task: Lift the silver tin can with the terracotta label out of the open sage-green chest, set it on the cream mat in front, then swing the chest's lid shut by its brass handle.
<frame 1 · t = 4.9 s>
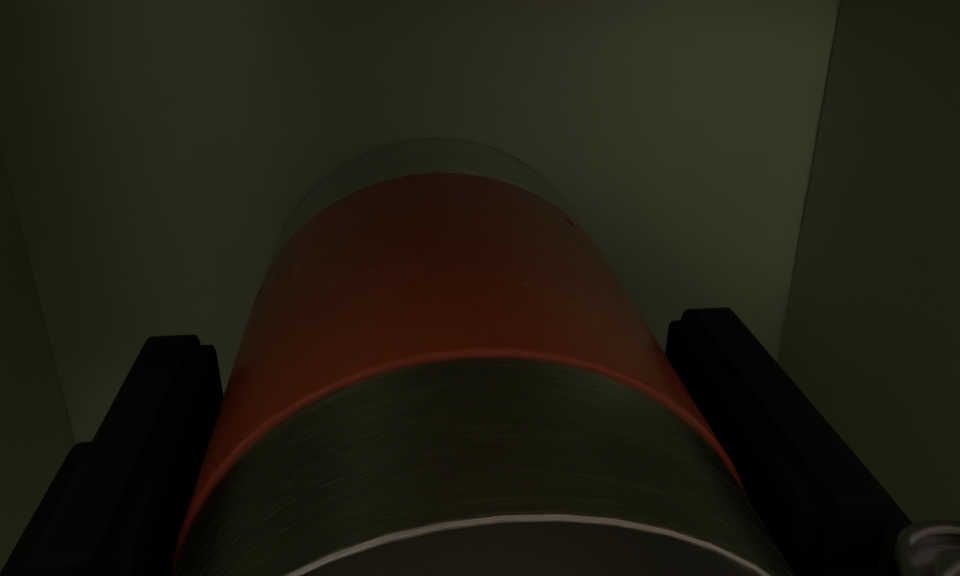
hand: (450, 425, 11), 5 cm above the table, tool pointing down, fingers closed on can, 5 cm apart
can: (433, 295, 14), point 1 cm above the table, touching chest, gripper
chest: (432, 324, 15), on the table
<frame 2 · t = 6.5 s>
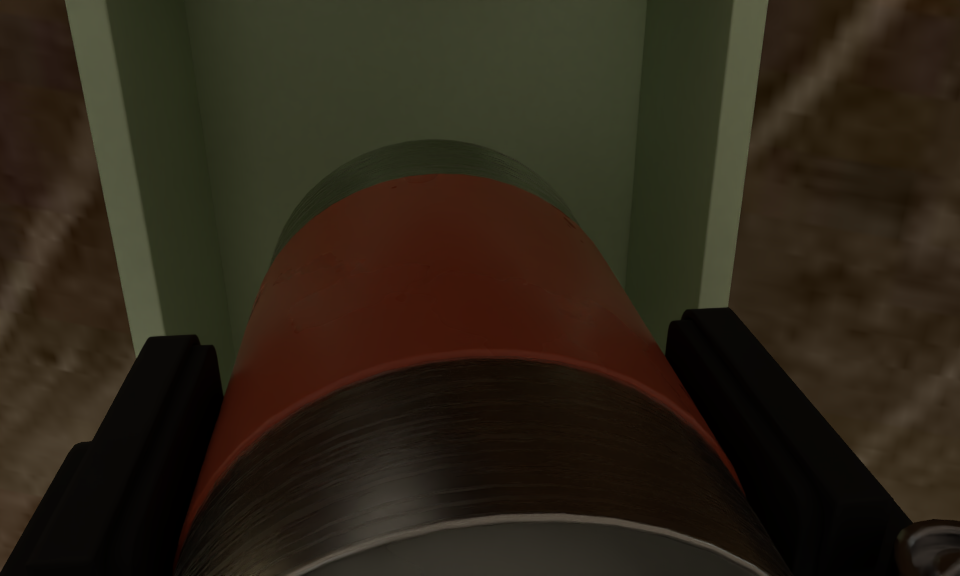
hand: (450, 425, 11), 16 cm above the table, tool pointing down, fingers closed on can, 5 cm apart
can: (433, 295, 14), point 12 cm above the table, touching gripper
chest: (426, 179, 26), on the table
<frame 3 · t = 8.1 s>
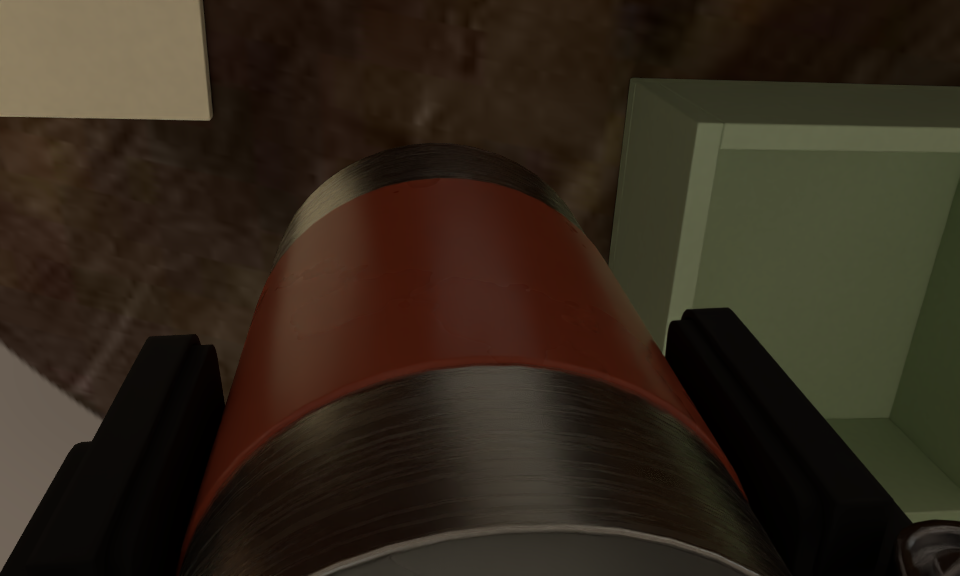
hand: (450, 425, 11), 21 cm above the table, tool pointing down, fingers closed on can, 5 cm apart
can: (435, 299, 14), point 17 cm above the table, touching gripper
chest: (775, 269, 35), on the table
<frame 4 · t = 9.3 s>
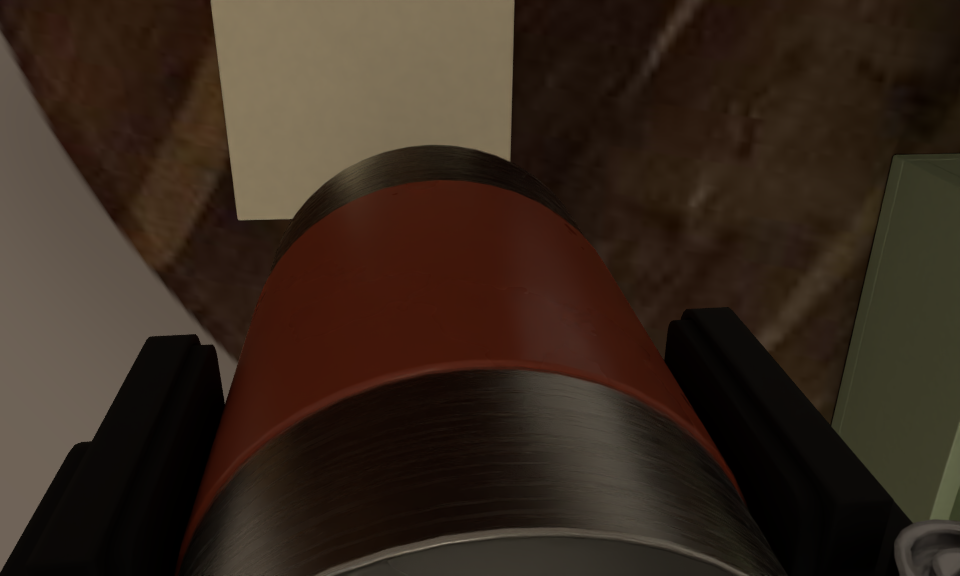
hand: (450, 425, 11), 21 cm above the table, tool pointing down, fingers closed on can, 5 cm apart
can: (434, 300, 14), point 17 cm above the table, touching gripper
mat: (369, 77, 29), on the table
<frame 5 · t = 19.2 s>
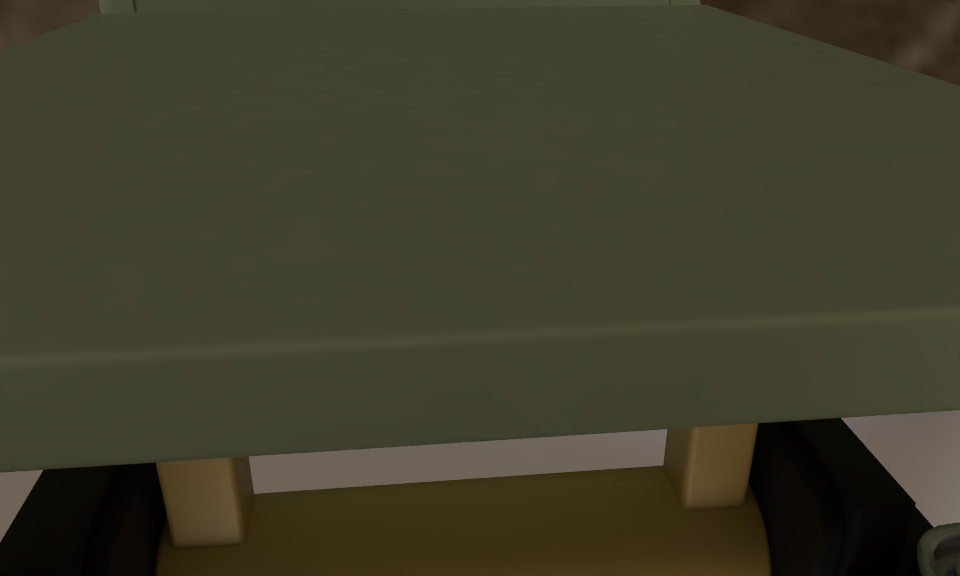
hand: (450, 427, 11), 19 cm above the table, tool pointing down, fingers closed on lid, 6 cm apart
lid: (432, 230, 13), point 16 cm above the table, hinge at 90.0°, touching gripper
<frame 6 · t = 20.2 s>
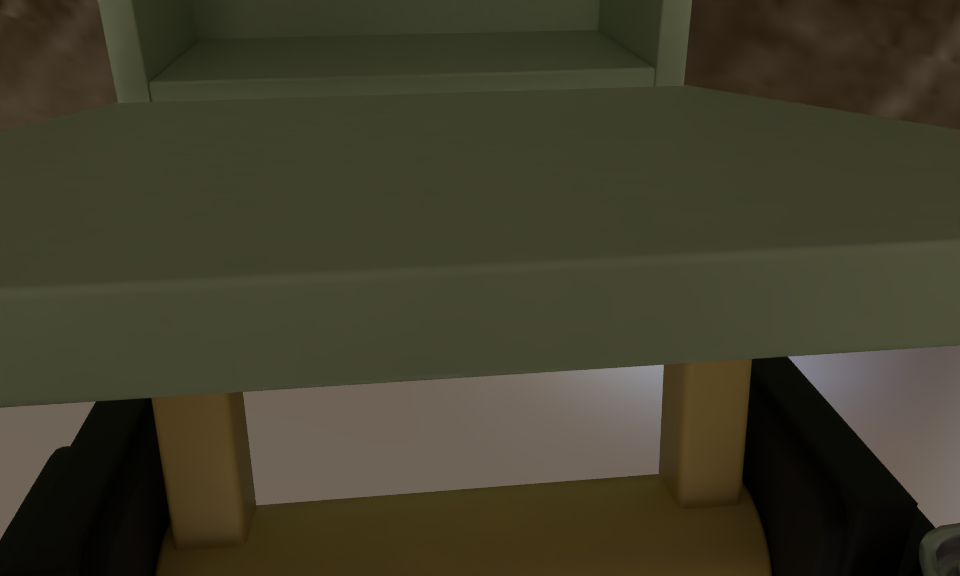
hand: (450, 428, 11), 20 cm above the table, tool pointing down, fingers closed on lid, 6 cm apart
lid: (431, 279, 14), point 16 cm above the table, hinge at 81.1°, touching gripper
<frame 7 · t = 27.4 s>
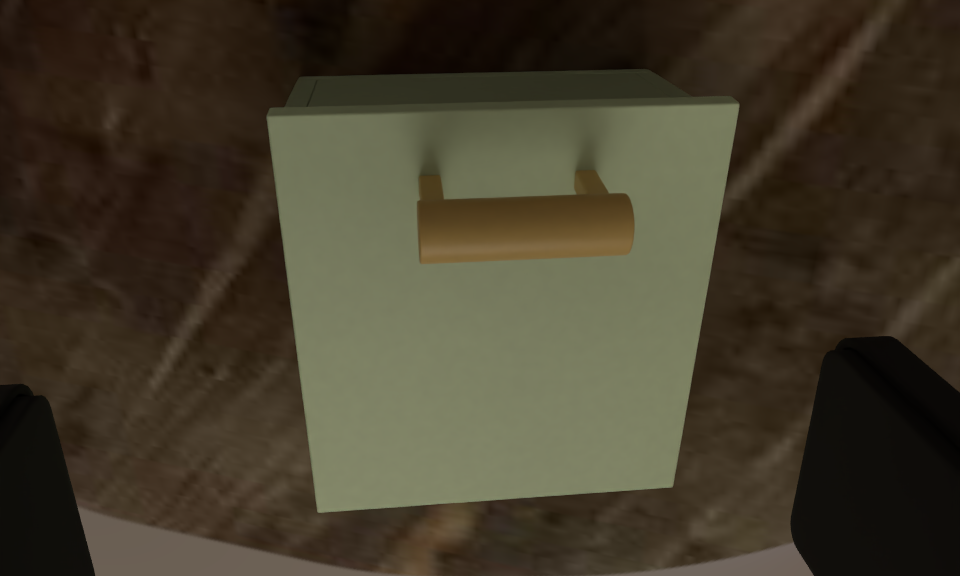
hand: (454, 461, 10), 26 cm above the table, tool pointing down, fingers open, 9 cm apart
chest: (477, 246, 37), on the table
lid: (510, 360, 28), point 11 cm above the table, hinge at 5.6°
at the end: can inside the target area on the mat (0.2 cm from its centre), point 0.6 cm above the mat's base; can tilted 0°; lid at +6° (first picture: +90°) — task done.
